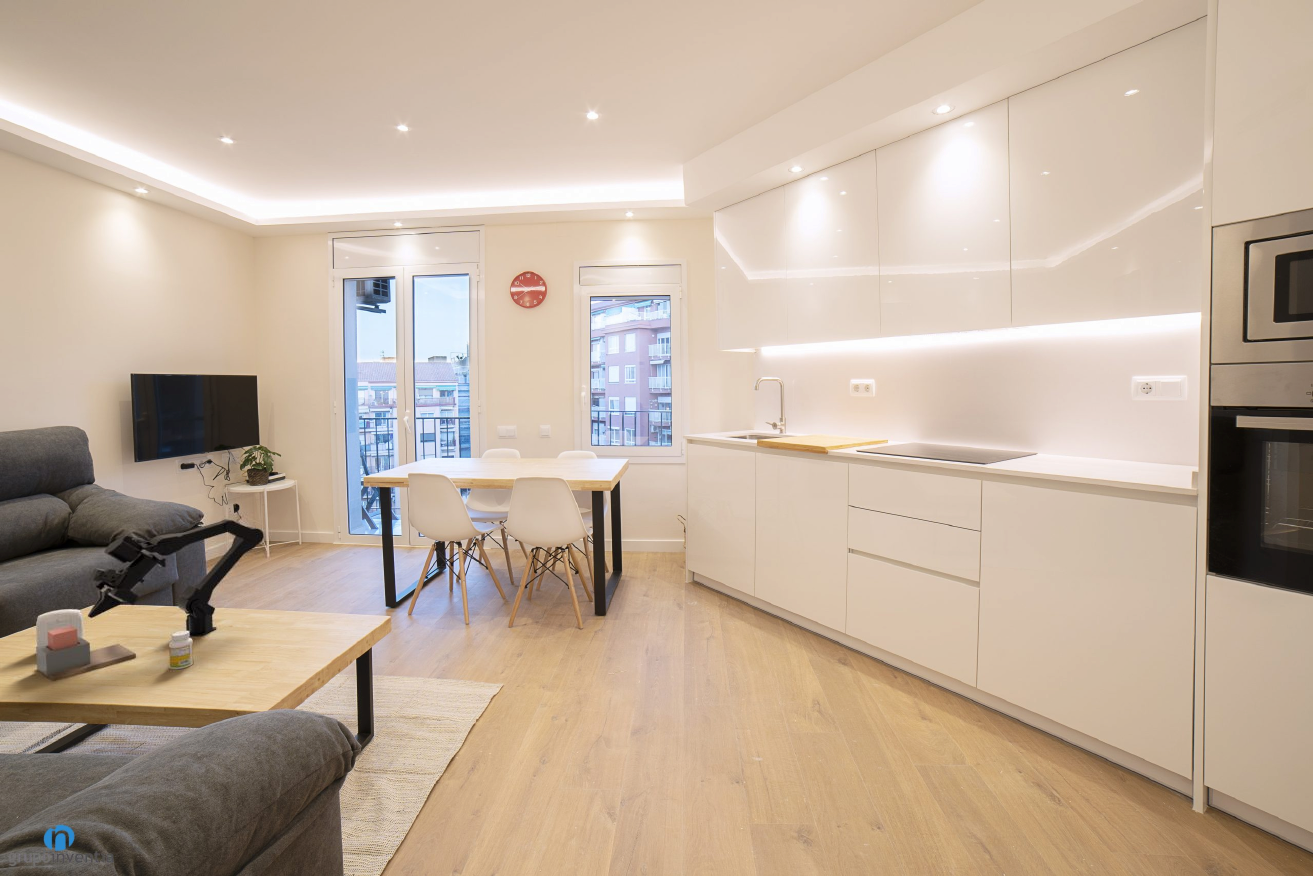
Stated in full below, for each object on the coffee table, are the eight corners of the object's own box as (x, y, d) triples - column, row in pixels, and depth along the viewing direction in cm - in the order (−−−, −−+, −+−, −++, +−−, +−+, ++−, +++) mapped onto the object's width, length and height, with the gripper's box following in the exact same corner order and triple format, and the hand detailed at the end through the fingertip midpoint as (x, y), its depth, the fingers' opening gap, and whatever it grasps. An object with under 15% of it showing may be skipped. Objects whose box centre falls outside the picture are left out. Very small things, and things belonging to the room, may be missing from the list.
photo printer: (85, 643, 187) (83, 605, 187) (81, 648, 184) (79, 609, 183) (39, 651, 182) (37, 611, 181) (35, 655, 178) (33, 615, 178)
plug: (72, 646, 172) (71, 625, 172) (78, 649, 169) (77, 629, 169) (48, 652, 168) (47, 631, 167) (53, 655, 165) (52, 634, 165)
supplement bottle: (178, 662, 174) (177, 629, 174) (198, 661, 174) (196, 629, 174) (165, 670, 169) (163, 637, 168) (185, 669, 169) (183, 636, 169)
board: (118, 647, 184) (118, 643, 184) (136, 657, 177) (135, 653, 177) (37, 669, 169) (36, 665, 169) (52, 681, 162) (52, 676, 162)
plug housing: (80, 656, 175) (79, 636, 175) (90, 663, 170) (89, 643, 170) (37, 667, 167) (36, 647, 167) (46, 675, 163) (45, 654, 162)
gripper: (100, 553, 182) (51, 597, 173) (123, 561, 172) (72, 609, 163) (133, 572, 189) (88, 616, 180) (157, 581, 179) (111, 628, 170)
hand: (89, 617), depth 173 cm, fingers closed
